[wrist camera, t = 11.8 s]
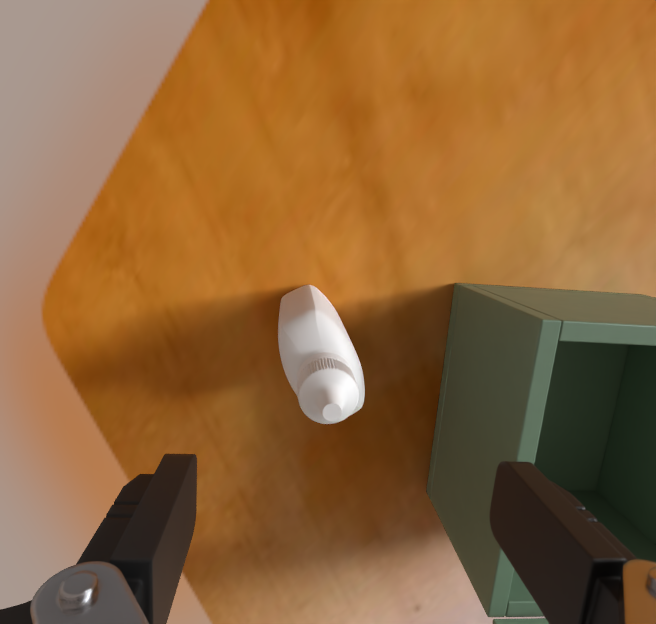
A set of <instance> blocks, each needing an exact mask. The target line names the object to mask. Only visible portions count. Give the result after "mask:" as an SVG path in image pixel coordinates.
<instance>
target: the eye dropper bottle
mask: <svg viewBox="0 0 656 624" xmlns="http://www.w3.org/2000/svg"><path fill="white" fill-rule="evenodd" d="M278 343H279V351H280V357H281V361H282V365H283V368H284V371H285V374H286V377H287V379H288V381H289V383H290V385H291V387H292V389H293V390H294V392H295V393H296V395H297V396H298V401H299V405H300V407H301V410H303V412H304V413H305V415H307V417H309V419H312V420H314V421H315V422H317V423H320V424H321V423H323V424H331V423H332V424H334V423H337V422H340V421H342V420H344V419H345V418H347V417H348V416H350V415H352V414H354V413H355V412H357V411H358V410H360V409H361V408H362V406H363V403H364V398H365V384H364V376H363V371H362V367H361V364H360V361H359V358H358V355H357V353H356V351H355V349H354V346H353V344H352V342H351V340H350V338H349V336H348V334H347V332H346V330H345V327H344V325H343V323H342V321H341V319H340V317H339V315H338V313H337V311H336V310H335V308H334V307H333V305H332V304H331V303H330V301H329V300H328V299H327V298H326V297H325V296H324V294H323V293H322V292H320V291H319V290H318V289H317V288H316V287H314V286H312V285H304V286H302V287H300V288H298V289H295V290H293V291H291V292H289V293H287V294H285V295H284V296H283V297H282V299H281V302H280V311H279V322H278Z"/></svg>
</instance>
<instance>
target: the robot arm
mask: <svg viewBox="0 0 656 624" xmlns="http://www.w3.org/2000/svg"><path fill="white" fill-rule="evenodd" d="M196 495H197V458H196V455H195V454H165V455H164V456H163V458H162V460H161V462H160V464H159V466H158V468H157V470H156V472H155V474H140V475H138V476H137V477H136V478H134V479H133V480H132V481H130V482H129V483H128V484H127V485H125V486H124V487H123V488H122V490H121V492H120V493H119V495H118V497H117V499H116V500H115V502H114V505H112V506H111V508H110V510H109V511H108V513H107V516H106V518H104V520H103V522H102V523H101V524H100V526H99V528H98V529H97V531H96V533H95V534H94V536H93V538H92V539H91V541H90V543H89V544H88V546H87V548H86V549H85V551H84V552H83V554H82V556H81V557H80V559H79V561H78V562H77V564H76V565H74V566H71V567H68V568H66V569H64V570H62V571H60V572H59V573H57V574H55V575H54V576H52V577H51V578H50V579H49V580H47V581H46V582H45V583H44V584H43V585H42V586H41V587H40V588H39V590H38V591H37V592H36V594H35V596H34V597H33V600H31V601H29V602H26V603H23V604H20V605H17V606H13V607H10V608H6V609H1V610H0V624H166V623H167V619H168V616H169V613H170V609H171V606H172V602H173V599H174V596H175V593H176V589H177V586H178V583H179V579H180V576H181V573H182V569H183V566H184V563H185V560H186V556H187V553H188V550H189V546H190V543H191V540H192V536H193V532H194V526H195V519H196ZM489 520H490V527H491V531H492V533H493V536H494V538H495V540H496V541H497V543H498V544H499V546H500V547H501V549H502V551H503V552H504V554H505V555H506V557H507V558H508V560H509V561H510V563H511V565H512V566H513V568H514V569H515V571H516V572H517V574H518V576H519V577H520V579H521V580H522V582H523V583H524V585H525V587H526V588H527V590H528V591H529V593H530V594H531V596H532V597H533V599H534V601H535V602H536V604H537V605H538V607H539V608H540V610H541V612H542V613H543V615H544V616H545V618H546V619H547V621H548V623H549V624H656V562H652V561H648V560H642V559H637V558H636V557H635V556H634V555H633V554H632V553H631V552H630V551H629V550H628V549H627V548H626V547H625V546H624V545H623V544H622V543H621V542H620V541H619V540H618V539H617V538H616V537H615V536H614V535H613V534H612V533H611V532H610V531H609V530H608V529H607V528H606V527H605V526H604V525H603V524H602V523H601V522H598V521H597V518H596V517H595V516H594V515H593V514H592V513H591V512H590V511H589V510H586V509H585V506H584V505H583V504H581V503H580V502H579V501H578V500H577V499H576V498H575V497H574V496H573V495H572V494H571V493H570V492H568V491H567V490H565V489H563V488H562V487H560V486H559V485H557V484H555V483H554V482H552V481H549V480H548V479H547V478H546V477H545V476H544V475H543V474H542V473H541V472H540V471H539V470H538V469H537V467H536V466H535V465H534V464H532V463H531V462H516V461H502V462H500V463H499V465H498V467H497V470H496V476H495V482H494V488H493V494H492V500H491V506H490V512H489Z"/></svg>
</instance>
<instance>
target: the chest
mask: <svg viewBox="0 0 656 624" xmlns="http://www.w3.org/2000/svg"><path fill="white" fill-rule="evenodd" d="M502 461H516V462H531V463H532V464H534V465H535V466H536V467H537V469H538V470H539V471H540V472H541V473H542V474H543V475H544V476H545V477H546V478H547V479H548V480H549V481H552V482H554V483H555V484H557V485H559V486H560V487H562V488H563V489H565V490H567V491H568V492H570V493H571V494H572V495H573V496H574V497H575V498H576V499H577V500H578V501H579V502H580V503H581V504H583V505H584V506H585V509H586V510H589V511H590V512H591V513H592V514H593V515H594V516H595V517H596V518H597V521H598V522H601V523H602V524H603V525H604V526H605V527H606V528H607V529H608V530H609V531H610V532H611V533H612V534H613V535H614V536H615V537H616V538H617V539H618V540H619V541H620V542H621V543H622V544H623V545H624V546H625V547H626V548H627V549H628V550H629V551H630V552H631V553H632V554H633V555H634V556H635V557H636V558H637V559H642V560H648V561H652V562H656V298H655V297H650V296H646V295H641V294H625V293H609V292H593V291H577V290H561V289H545V288H529V287H513V286H497V285H481V284H465V283H455V285H454V292H453V299H452V307H451V314H450V321H449V329H448V336H447V343H446V351H445V358H444V365H443V373H442V380H441V387H440V395H439V402H438V409H437V417H436V424H435V431H434V439H433V446H432V453H431V461H430V468H429V475H428V483H427V490H426V492H427V494H428V496H429V498H430V500H431V502H432V504H433V506H434V508H435V510H436V512H437V514H438V516H439V518H440V520H441V522H442V524H443V526H444V529H445V531H446V533H447V535H448V537H449V539H450V541H451V543H452V545H453V547H454V549H455V551H456V553H457V555H458V557H459V559H460V561H461V563H462V565H463V567H464V569H465V571H466V573H467V575H468V577H469V579H470V581H471V583H472V586H473V588H474V590H475V592H476V594H477V596H478V598H479V600H480V602H481V604H482V606H483V608H484V610H485V612H486V614H487V616H488V617H504V616H506V617H540V616H544V615H543V613H542V612H541V610H540V608H539V607H538V605H537V604H536V602H535V601H534V599H533V597H532V596H531V594H530V593H529V591H528V590H527V588H526V587H525V585H524V583H523V582H522V580H521V579H520V577H519V576H518V574H517V572H516V571H515V569H514V568H513V566H512V565H511V563H510V561H509V560H508V558H507V557H506V555H505V554H504V552H503V551H502V549H501V547H500V546H499V544H498V543H497V541H496V540H495V538H494V536H493V533H492V531H491V527H490V520H489V512H490V506H491V500H492V494H493V488H494V482H495V476H496V470H497V467H498V465H499V463H500V462H502Z"/></svg>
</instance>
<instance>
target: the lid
mask: <svg viewBox="0 0 656 624" xmlns="http://www.w3.org/2000/svg"><path fill="white" fill-rule="evenodd" d="M493 624H549V623H548V621H547V619H546V618H541V619H493Z"/></svg>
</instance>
